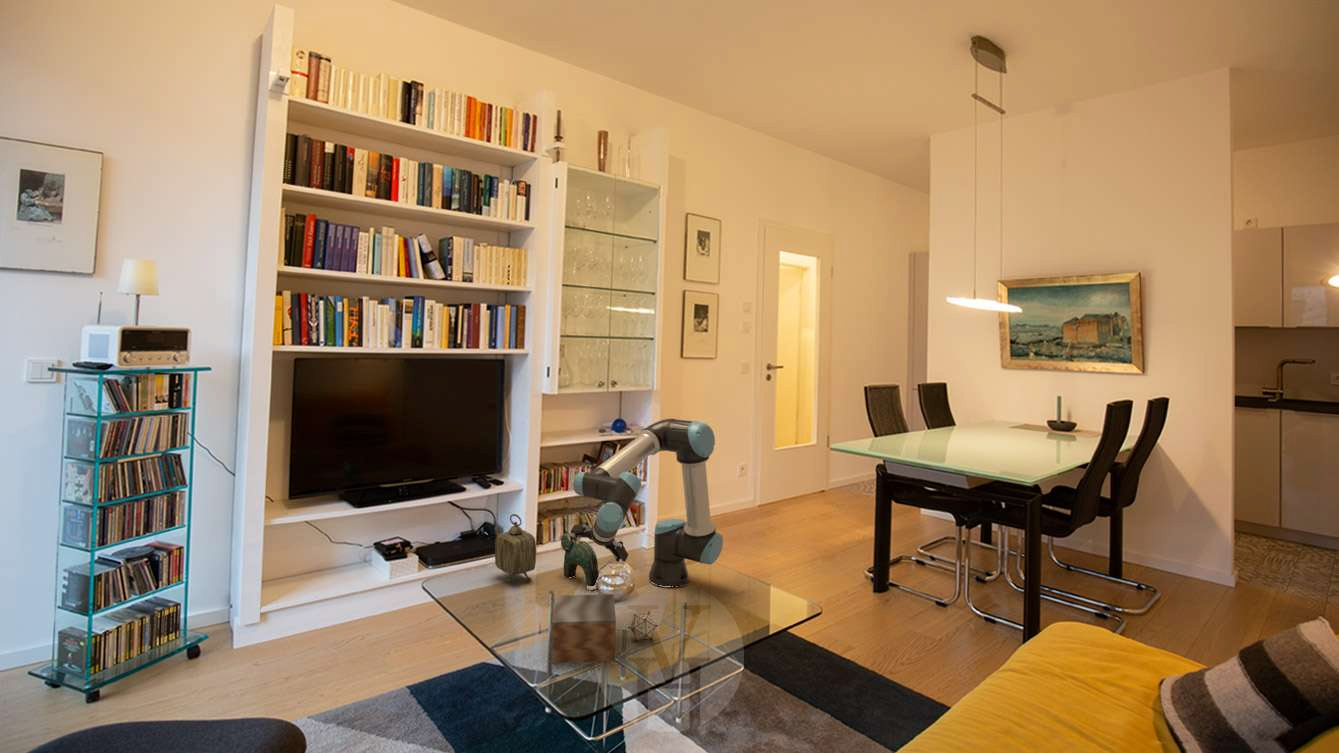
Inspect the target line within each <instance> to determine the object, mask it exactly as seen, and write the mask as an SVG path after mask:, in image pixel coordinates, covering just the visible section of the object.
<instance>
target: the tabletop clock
mask: <svg viewBox="0 0 1339 753" xmlns="http://www.w3.org/2000/svg"><path fill="white" fill-rule="evenodd" d="M512 517H516V518H517V519H518V520H519V524H518V522H517V521H513V520H512ZM509 520H510V523H511V524H512V526H511V527H510V528H509V530H508V531H505V532H502V533H498V535H497V536H496V537H495V541H494V543H495V544H494V560H495V561H494V563H495V566H496V568H498V569H499V570H501V571H502V572H503V573H507V574H508V575H509V577H508V578H507V581H508V582H512V581H513V577H512V576H519V575H521V574H523V575H524V576H525V578H526V581H527V583H530V582H531V581H532V577H530V576H528V574H527V572H531V571H534V570H535V569H536V563H537V543H536V542H537V541H536V538H535V536H534V535H533V534H531V533H530V532H527V531H526V530H523V529H522V527H521V525H522V519H521V517H520V516H519V515H518V514H515V513H513V514H511V515H510V517H509Z"/></svg>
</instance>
